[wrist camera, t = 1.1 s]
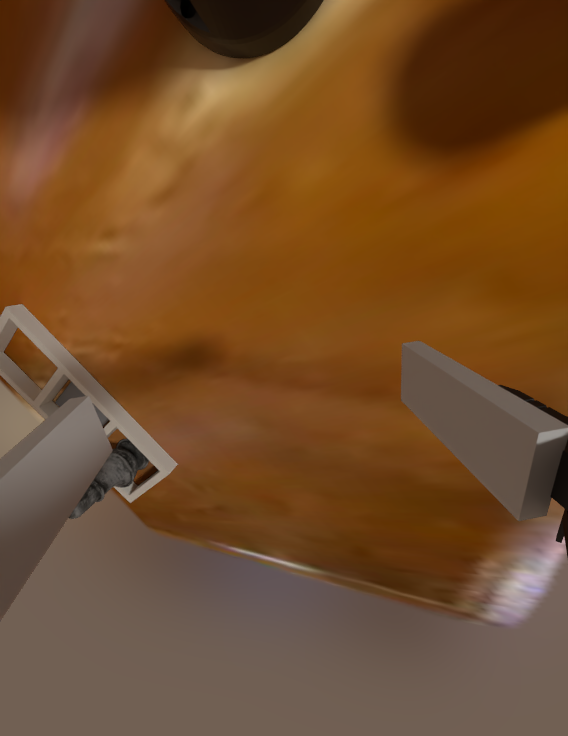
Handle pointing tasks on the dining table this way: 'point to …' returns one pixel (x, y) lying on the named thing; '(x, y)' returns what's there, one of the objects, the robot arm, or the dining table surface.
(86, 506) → the dark chess piece
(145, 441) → the pocket rack
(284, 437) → the dining table surface
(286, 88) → the dining table surface
